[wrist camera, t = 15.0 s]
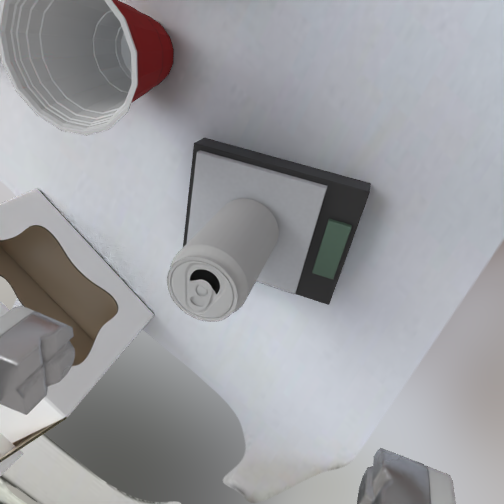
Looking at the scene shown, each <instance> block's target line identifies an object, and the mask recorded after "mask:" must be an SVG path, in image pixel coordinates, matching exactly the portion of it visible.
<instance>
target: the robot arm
mask: <svg viewBox="0 0 504 504" xmlns="http://www.w3.org/2000/svg"><path fill="white" fill-rule="evenodd" d="M72 337H74V335H73V328H72V327H71V326H69V325H67V324H64V323H62V322H60V321H57V320H55V319H53V318H50V317H48V316H46V315H43V314H41V313H39V312H36V311H34V310H31V309H29V308H26V307H24V306H18V307H14V308H13V309H11V310H10V311H8V312H7V313H5V314H4V315H3V316H1V317H0V404H1V405H3V406H6V407H8V408H11V409H13V410H15V411H18V412H20V413H23V414H25V415H27V414H28V413H29V412H30V411H31V410H32V409H33V408H34V407H35V406H36V405H37V404H38V403H39V402H40V401H41V400H42V399H43V398H44V397H45V396H46V395H47V390H48V386H50V385H53V384H56V383H58V382H60V381H61V380H62V379H63V378H64V377H65V376H66V375H67V373H68V372H69V370H70V368H71V366H72V365H73V362H74V358H75V348H74V347H73V345H72V344H71V342H70V341H69V340H70V339H71V338H72ZM357 504H456V503H455V495H454V487H453V481H452V479H451V477H450V475H448V474H446V473H443V472H441V471H438V470H436V469H433V468H431V467H428V466H425V465H424V464H422V463H419V462H417V461H414V460H411V459H409V458H406V457H403V456H401V455H398V454H396V453H393V452H390V451H388V450H385V449H382V448H380V449H379V450H378V451H377V452H376V454H375V456H374V463H373V466H372V467H368V468H367V470H366V471H365V473H364V475H363V478H362V481H361V484H360V487H359V493H358V500H357Z"/></svg>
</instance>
